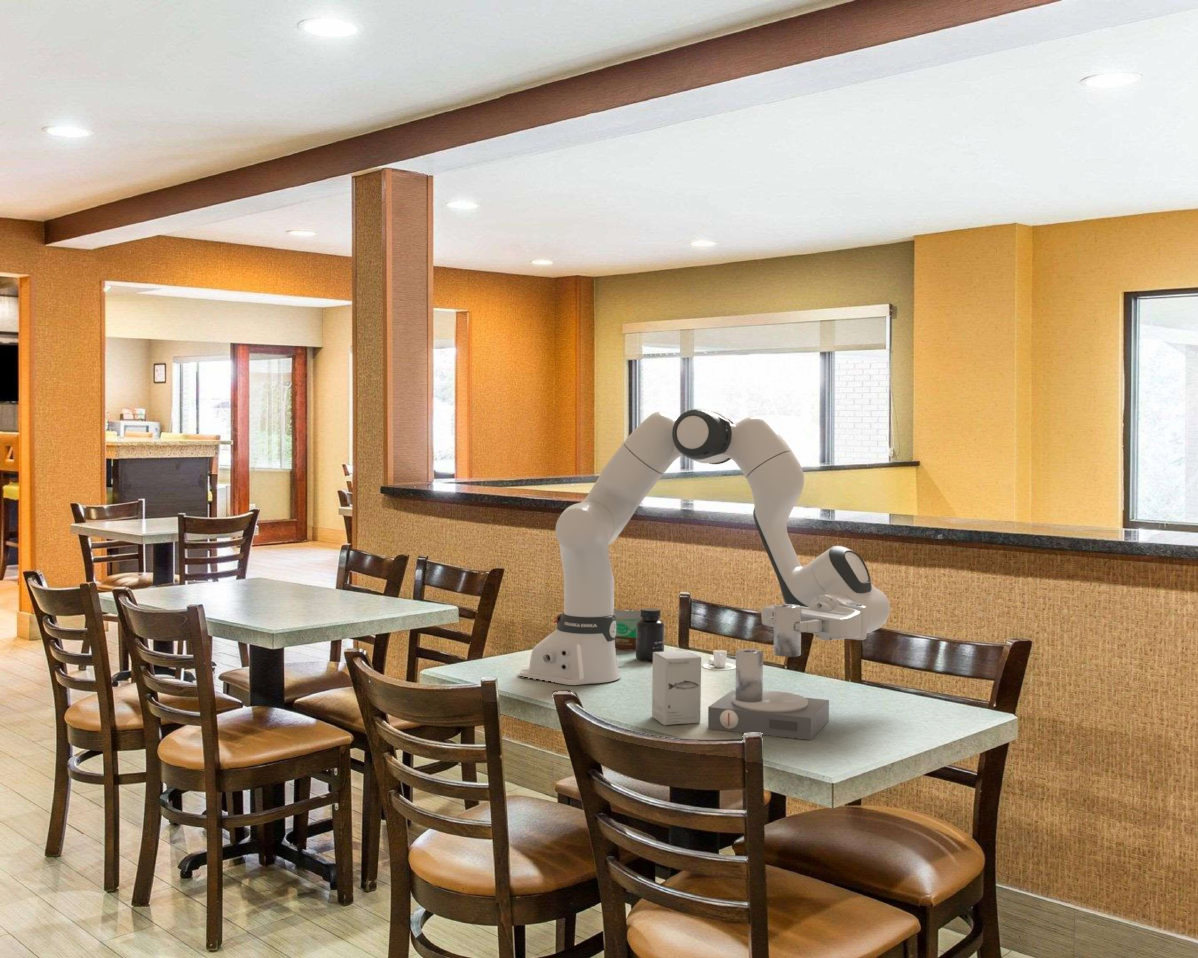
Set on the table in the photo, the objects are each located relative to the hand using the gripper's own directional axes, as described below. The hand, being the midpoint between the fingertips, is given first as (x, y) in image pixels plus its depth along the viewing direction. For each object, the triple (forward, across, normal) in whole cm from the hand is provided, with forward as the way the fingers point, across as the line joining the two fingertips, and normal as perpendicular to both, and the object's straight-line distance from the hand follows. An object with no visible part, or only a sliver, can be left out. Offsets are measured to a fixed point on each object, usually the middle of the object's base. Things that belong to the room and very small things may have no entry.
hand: (784, 624), depth 211 cm
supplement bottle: (-24, -60, +19) cm, 67 cm away
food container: (-28, -73, +19) cm, 81 cm away
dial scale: (+2, -2, +19) cm, 19 cm away
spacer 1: (+5, -4, +14) cm, 15 cm away
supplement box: (+13, -15, +19) cm, 28 cm away
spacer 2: (-1, 0, +6) cm, 6 cm away
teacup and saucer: (-33, -43, +19) cm, 57 cm away
